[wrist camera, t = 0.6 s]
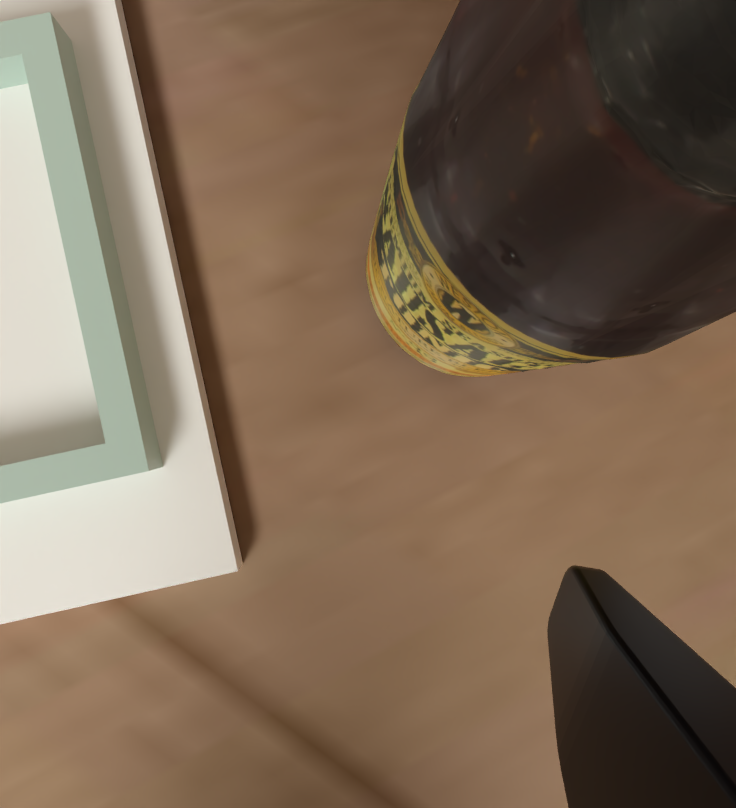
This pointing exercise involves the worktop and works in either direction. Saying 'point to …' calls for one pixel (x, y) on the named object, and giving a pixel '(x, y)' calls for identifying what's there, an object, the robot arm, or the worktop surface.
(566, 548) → the worktop surface
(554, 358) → the sauce bottle
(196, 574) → the holder tray
